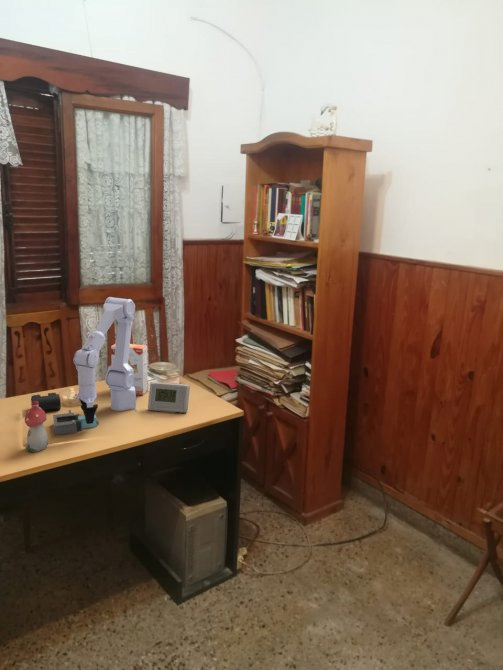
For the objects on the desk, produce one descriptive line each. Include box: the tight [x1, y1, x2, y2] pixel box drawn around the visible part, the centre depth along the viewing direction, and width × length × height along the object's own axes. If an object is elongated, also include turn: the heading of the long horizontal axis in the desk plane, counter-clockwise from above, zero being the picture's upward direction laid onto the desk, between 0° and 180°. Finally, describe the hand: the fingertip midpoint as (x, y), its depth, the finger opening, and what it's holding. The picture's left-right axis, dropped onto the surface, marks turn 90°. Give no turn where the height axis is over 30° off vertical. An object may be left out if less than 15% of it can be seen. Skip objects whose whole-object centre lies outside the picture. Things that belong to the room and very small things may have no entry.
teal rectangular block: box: [78, 414, 100, 430], centre depth 186 cm, size 7×4×4 cm, turn 113°
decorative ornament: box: [24, 401, 49, 453], centre depth 169 cm, size 9×6×15 cm
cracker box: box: [110, 342, 149, 396], centre depth 220 cm, size 14×6×21 cm, turn 81°
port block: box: [52, 412, 83, 437], centre depth 183 cm, size 9×10×5 cm
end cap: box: [30, 392, 62, 413], centre depth 198 cm, size 10×7×7 cm
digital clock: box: [147, 381, 190, 414], centre depth 205 cm, size 16×9×11 cm, turn 72°
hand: (88, 419), depth 186 cm, fingers open, 7 cm apart
